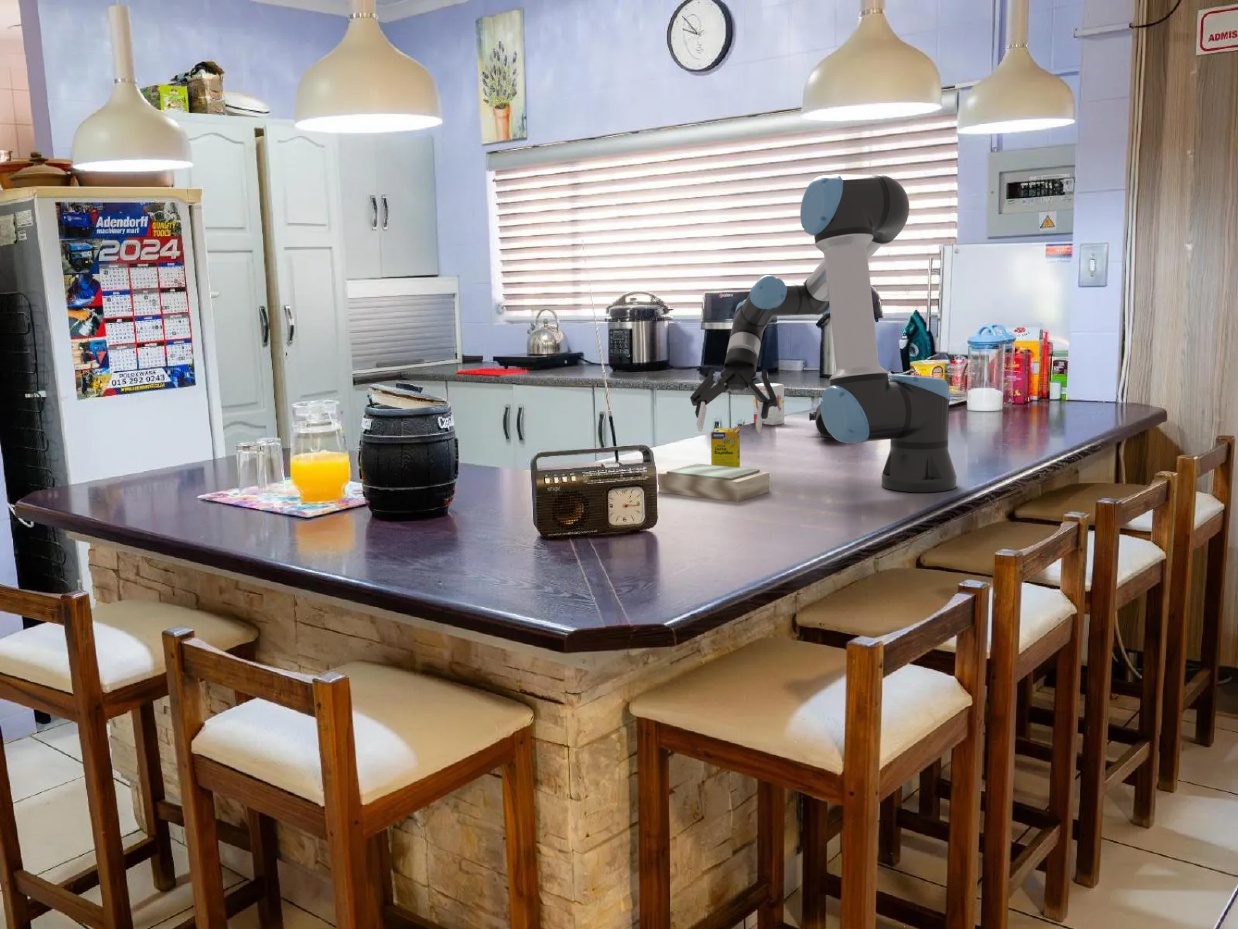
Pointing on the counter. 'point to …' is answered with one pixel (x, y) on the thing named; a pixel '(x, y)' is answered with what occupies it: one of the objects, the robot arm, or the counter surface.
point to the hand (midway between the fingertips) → (728, 428)
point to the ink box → (774, 412)
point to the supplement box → (725, 447)
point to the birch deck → (714, 482)
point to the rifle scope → (819, 422)
